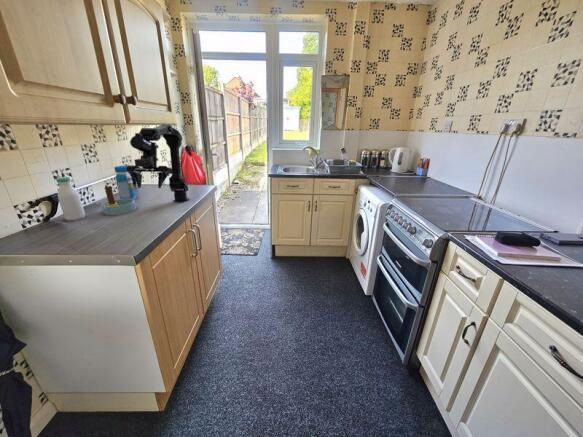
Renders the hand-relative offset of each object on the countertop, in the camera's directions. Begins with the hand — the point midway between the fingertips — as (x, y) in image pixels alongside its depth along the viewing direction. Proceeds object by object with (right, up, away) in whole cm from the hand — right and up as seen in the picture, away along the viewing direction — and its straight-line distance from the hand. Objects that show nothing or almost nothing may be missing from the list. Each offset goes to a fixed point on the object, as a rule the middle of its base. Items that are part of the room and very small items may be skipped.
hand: (149, 188), depth 115 cm
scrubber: (-27, -10, +14) cm, 32 cm away
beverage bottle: (-34, -2, +37) cm, 50 cm away
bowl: (-24, -11, +16) cm, 31 cm away
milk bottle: (-39, -14, +5) cm, 42 cm away
